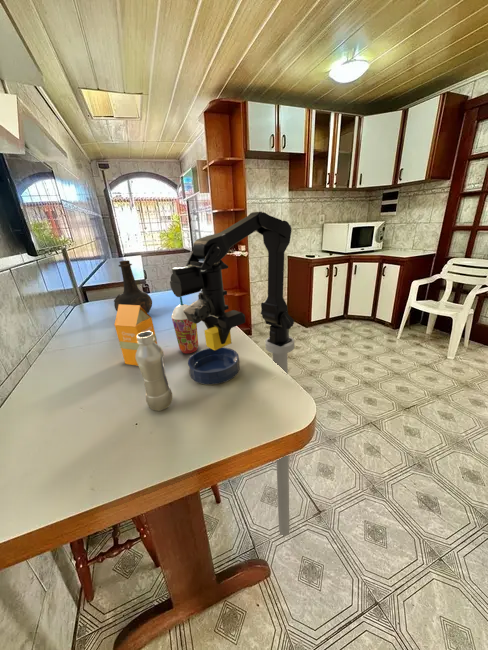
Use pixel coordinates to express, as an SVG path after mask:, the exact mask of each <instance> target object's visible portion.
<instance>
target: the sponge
mask: <svg viewBox="0 0 488 650" xmlns="http://www.w3.org/2000/svg"><path fill="white" fill-rule="evenodd" d="M203 331H204V339H205V346H206V347H207V348H211V349H213V350H217V349H219V348H222V347H227V346H228V345H230V344H232V336H231V335H232V334H231V331H230V332H229V335H228V337H227V340H226V342H225V343H224V344H221V341H220V337H219V332H218V328H217V327H212V328H209V329H207V328H206V329H204V330H203Z"/></svg>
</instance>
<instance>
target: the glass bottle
mask: <svg viewBox="0 0 488 650" xmlns="http://www.w3.org/2000/svg"><path fill="white" fill-rule="evenodd" d="M118 263H119V265H118V267H120V271H121V275H122V283H123V291H122V293H119V294H117V295H116V297H115V298H114V299H113V304H114V305H113V306H114V309H115V311H116V312H117V311H118V306H119V304H122V305H140V306H141V307H142V308H143V309H144V310H145V312H146V313H147V314H148V313H150V311H151V310H152V307H153V299H152V297H151V296H150V294H148V293H147V292H145V291H142V290H140V288H139V287H138V284H137V281H136V279H135V277H134V274H133V270H132V266H133V263H130V260H119V262H118Z"/></svg>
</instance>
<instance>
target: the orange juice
mask: <svg viewBox="0 0 488 650" xmlns="http://www.w3.org/2000/svg"><path fill="white" fill-rule="evenodd" d="M113 325H114V329H115V332H116V336H117V339H118V343H119V346H120V350H121V352H122V353H121V354H122V356H123V360H124V364H125V365H130V366H131V365H132V366H136V367H137V366H138V364H137V361H136V358H135V357H136V352H137V349H138V347H139V344H138V342H137V341H138V340H137V335H138V334H139V333H142V332H146V331H150V332H152V333H153V336H154V338H155V341H154V342H155V343H156V344H158V339H157V335H156V331H155V327H154V323H153V318H152V317H151V315H149V314H148V313H146V312H145V310H144V309H143V308H142V307H141V306H140V305H122V304H119V306H118V311H116V315H115V320H114V324H113ZM138 367H139V366H138Z"/></svg>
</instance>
